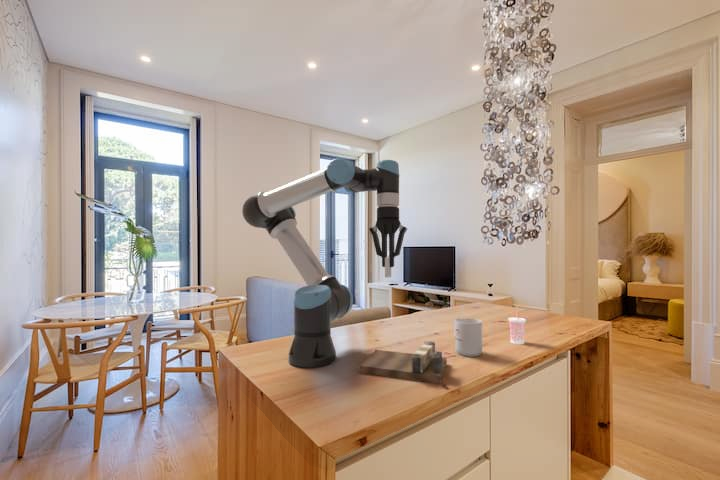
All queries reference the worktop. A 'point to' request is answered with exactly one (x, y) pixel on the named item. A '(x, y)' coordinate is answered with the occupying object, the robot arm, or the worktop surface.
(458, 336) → the mug
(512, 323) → the beverage cup
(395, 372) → the wooden base board
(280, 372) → the worktop surface
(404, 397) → the worktop surface
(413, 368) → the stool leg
